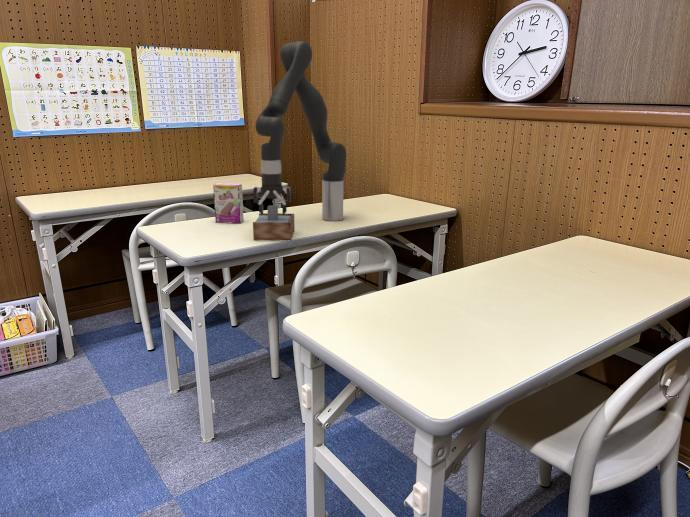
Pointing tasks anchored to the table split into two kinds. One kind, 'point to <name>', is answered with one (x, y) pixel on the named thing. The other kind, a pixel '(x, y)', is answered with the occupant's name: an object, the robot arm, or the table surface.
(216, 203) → the candy bar box
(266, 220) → the lid
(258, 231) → the wooden box
